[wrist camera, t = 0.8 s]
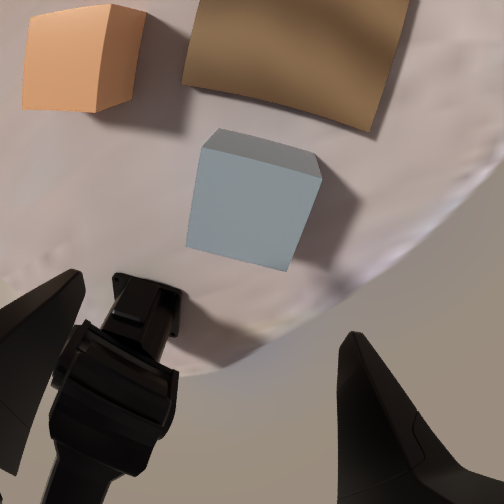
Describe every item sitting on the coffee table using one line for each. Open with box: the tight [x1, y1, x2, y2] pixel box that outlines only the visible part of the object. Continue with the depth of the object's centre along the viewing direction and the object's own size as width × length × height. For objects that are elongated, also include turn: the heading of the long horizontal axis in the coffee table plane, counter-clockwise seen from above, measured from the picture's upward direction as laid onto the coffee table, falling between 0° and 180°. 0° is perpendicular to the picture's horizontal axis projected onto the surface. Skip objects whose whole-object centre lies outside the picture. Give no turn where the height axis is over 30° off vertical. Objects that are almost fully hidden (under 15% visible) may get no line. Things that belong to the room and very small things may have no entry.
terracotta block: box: [22, 4, 147, 113], centre depth 13 cm, size 6×6×4 cm
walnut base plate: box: [181, 0, 410, 133], centre depth 12 cm, size 11×11×1 cm
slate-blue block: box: [186, 128, 323, 272], centre depth 17 cm, size 6×6×4 cm
